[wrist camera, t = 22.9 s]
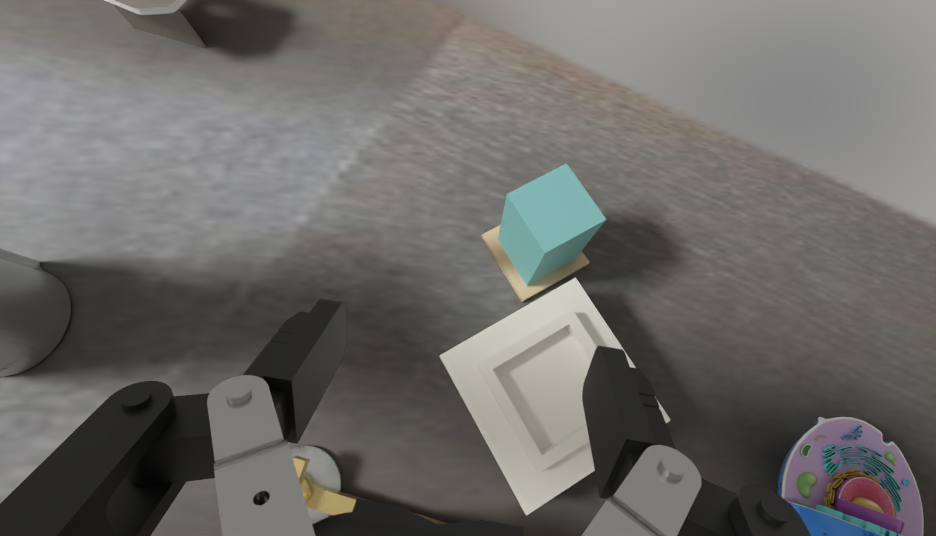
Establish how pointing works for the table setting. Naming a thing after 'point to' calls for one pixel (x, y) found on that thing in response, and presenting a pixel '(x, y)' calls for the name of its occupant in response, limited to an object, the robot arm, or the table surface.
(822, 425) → the cell model
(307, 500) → the key lever
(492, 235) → the pad
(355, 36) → the table surface
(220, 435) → the robot arm
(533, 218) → the teal upright prism
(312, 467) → the key socket
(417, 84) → the table surface
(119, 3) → the two-pronged ringed stand
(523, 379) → the housing
